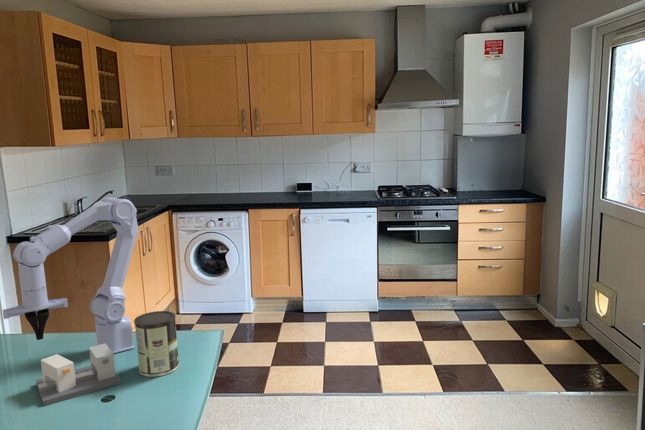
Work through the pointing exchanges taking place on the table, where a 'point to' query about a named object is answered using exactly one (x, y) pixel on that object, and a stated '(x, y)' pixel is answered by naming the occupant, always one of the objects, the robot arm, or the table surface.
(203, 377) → the table surface
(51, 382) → the rail board
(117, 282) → the robot arm
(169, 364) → the coffee can
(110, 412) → the table surface
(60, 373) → the block
